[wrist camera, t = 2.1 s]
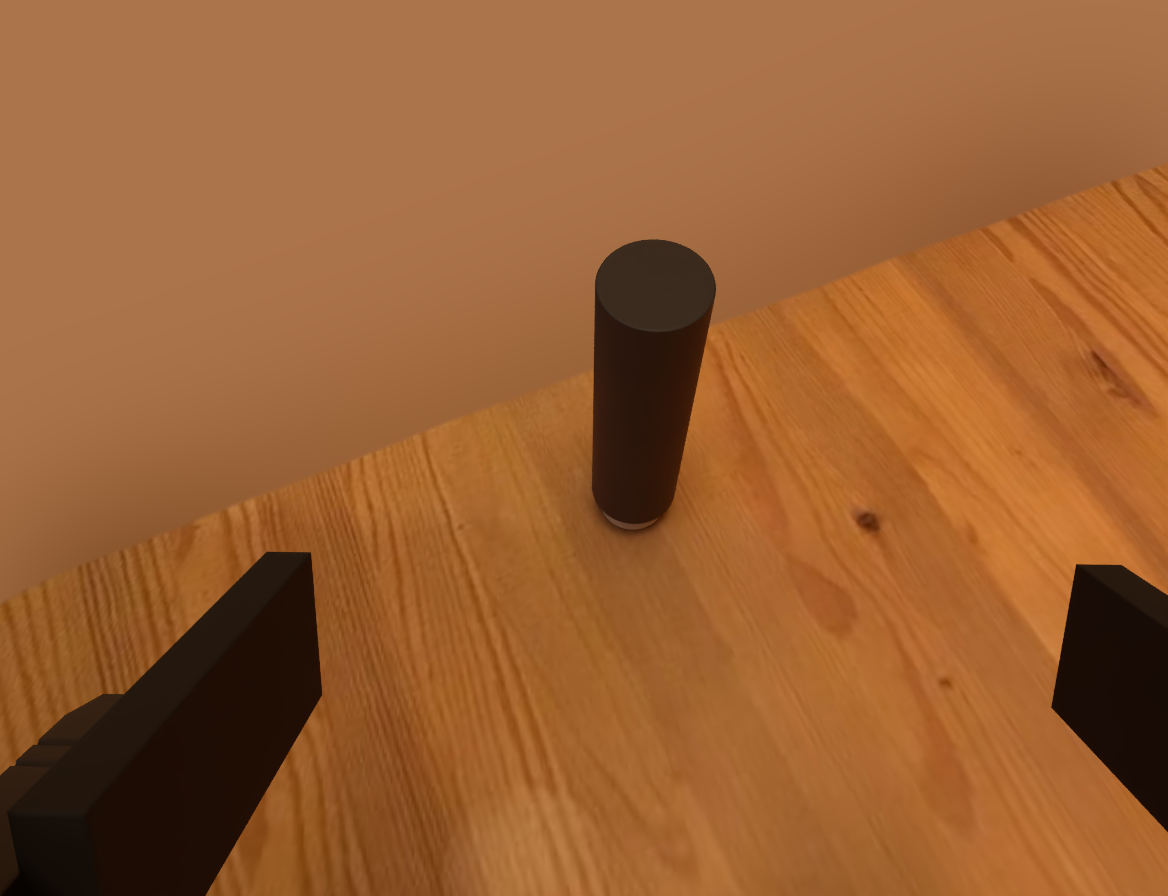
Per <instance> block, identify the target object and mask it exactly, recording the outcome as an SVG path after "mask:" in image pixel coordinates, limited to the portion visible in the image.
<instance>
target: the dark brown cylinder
mask: <svg viewBox="0 0 1168 896" xmlns="http://www.w3.org/2000/svg"><path fill="white" fill-rule="evenodd" d="M715 292H716V284H715V279H714V276H713V273H712V271H711V269H710V267H709V266H708V264H707V263H706V262H705V261H704V259H702V258H701V257H700V256H699V255H698V254H697V253H695V252H694V251H693V250H691V249H689V248H687V247H685V246H683V245H680V244H678V243H674V242H670V241H666V240H641V241H636V242H632V243H629V244H627V245H624V246H622V247H620V248H619V249H617V250H615V251H614V252H612V253H611V254H610V255H609V256H608V257H607V258H606V259H605V260H604V262H603V263H602V264H601V266H600V268H599V270H598V273H597V276H596V281H595V335H594V338H595V339H594V398H593V462H592V491H593V495H594V499H595V501H596V503H597V504H598V506H599V507H600V509H601V510H602V512H603V514H604V515H605V517H606V518H607V519H608V520H609V521H610V522H612V523H613V524H615V525H616V526H618V527H621V528H624V529H630V530H635V529H641V528H645V527H647V526H649V525H651V524H653V523H654V522H655V521H656V520H657V519H658V518H659V517H660V516H661V515H662V514H663V513H664V512H666V510H667V509H668V508H669V506H670V505H671V503H672V501H673V498H674V494H675V489H676V485H677V480H678V475H679V470H680V465H681V460H682V455H683V450H684V445H685V441H686V436H687V431H688V426H689V421H690V416H691V411H692V406H693V402H694V397H695V392H696V387H697V382H698V377H699V372H700V367H701V363H702V358H703V353H704V348H705V343H706V338H707V333H708V328H709V323H710V319H711V313H712V309H713V304H714V298H715Z"/></svg>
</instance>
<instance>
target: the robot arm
mask: <svg viewBox="0 0 1168 896" xmlns="http://www.w3.org/2000/svg"><path fill="white" fill-rule="evenodd" d="M321 696H322V686H321V673H320V661H319V648H318V636H317V623H316V610H315V598H314V585H313V572H312V560H311V553H309V552H266V553H265V554H264V555H263V556H262V557H261V558H260V559H259V560H258V561H257V562H256V563H255V564H254V565H253V566H252V567H251V568H250V569H249V570H248V571H247V572H246V573H245V574H244V575H243V576H242V577H241V578H240V579H239V580H238V581H237V582H236V583H235V584H234V585H233V586H232V587H231V588H230V589H229V590H228V591H227V592H226V593H225V594H224V595H223V596H222V597H221V598H220V599H219V600H218V601H217V602H216V603H215V604H214V605H213V606H212V607H211V608H210V609H209V610H208V611H207V612H206V613H205V614H204V615H203V616H202V617H201V618H200V619H199V620H198V621H197V622H196V623H195V624H194V625H193V626H192V627H191V628H190V629H189V630H188V631H187V632H186V633H185V634H184V635H183V636H182V637H181V638H180V639H179V640H178V641H177V642H176V643H175V644H174V645H173V646H172V647H171V648H170V649H169V650H168V651H167V652H166V653H165V654H164V655H163V656H162V657H161V658H160V659H159V660H158V661H157V662H156V663H155V664H154V665H153V666H152V667H151V668H150V669H149V670H148V671H147V672H146V673H145V674H144V675H143V676H142V677H141V678H140V679H139V680H138V681H137V682H136V683H135V684H134V685H133V686H132V687H131V688H130V689H129V690H128V691H127V692H126V693H125V694H102V695H101V696H99V697H97V698H95V699H93V700H92V701H90V702H88V703H86V704H84V705H83V706H81V707H79V708H77V709H75V710H74V711H72V712H70V713H68V714H66V715H65V716H64V717H63V718H62V719H61V720H60V721H58V722H57V723H56V724H55V725H54V726H53V727H52V728H51V729H50V730H49V731H48V732H47V733H46V734H44V735H43V736H42V737H41V738H40V739H39V742H38V745H33V746H32V747H30V748H29V749H28V750H27V751H26V752H25V753H24V754H23V755H22V756H21V757H20V758H19V759H18V760H16V765H15V766H10V767H9V768H8V769H7V770H6V771H5V772H4V773H2V774H1V775H0V896H205V895H206V893H207V892H208V890H209V888H210V887H211V885H212V883H213V881H214V880H215V878H216V876H217V875H218V873H219V871H220V869H221V868H222V866H223V864H224V863H225V861H226V859H227V857H228V856H229V854H230V852H231V850H232V849H233V847H234V845H235V844H236V842H237V840H238V838H239V837H240V835H241V833H242V832H243V830H244V828H245V826H246V825H247V823H248V821H249V820H250V818H251V816H252V814H253V813H254V811H255V809H256V807H257V806H258V804H259V802H260V801H261V799H262V797H263V795H264V794H265V792H266V790H267V789H268V787H269V785H270V783H271V782H272V780H273V778H274V777H275V775H276V773H277V771H278V770H279V768H280V766H281V764H282V763H283V761H284V759H285V758H286V756H287V754H288V752H289V751H290V749H291V747H292V746H293V744H294V742H295V740H296V739H297V737H298V735H299V734H300V732H301V730H302V728H303V727H304V725H305V723H306V722H307V720H308V718H309V716H310V715H311V713H312V711H313V709H314V708H315V706H316V704H317V703H318V701H319V699H320V697H321ZM1051 708H1052V709H1053V710H1054V711H1055V712H1056V713H1057V714H1058V715H1059V716H1060V717H1061V718H1062V719H1063V720H1064V721H1065V723H1066V724H1067V725H1068V726H1069V727H1070V728H1071V729H1072V730H1073V731H1074V732H1075V733H1076V734H1077V735H1078V736H1079V738H1080V739H1081V740H1082V741H1083V742H1084V743H1085V744H1086V745H1087V746H1088V747H1089V748H1090V749H1091V750H1092V751H1093V753H1094V754H1095V755H1096V756H1097V757H1098V758H1099V759H1100V760H1101V761H1102V762H1103V763H1104V764H1105V765H1106V766H1107V768H1108V769H1109V770H1110V771H1111V772H1112V773H1113V774H1114V775H1115V776H1116V777H1117V778H1118V779H1119V780H1120V781H1121V783H1122V784H1123V785H1124V786H1125V787H1126V788H1127V789H1128V790H1129V791H1130V792H1131V793H1132V794H1133V795H1134V796H1135V798H1136V799H1137V800H1138V801H1139V802H1140V803H1141V804H1142V805H1143V806H1144V807H1145V808H1146V809H1147V810H1148V811H1149V813H1150V814H1151V815H1152V816H1153V817H1154V818H1155V819H1156V820H1157V821H1158V822H1159V823H1160V824H1161V825H1162V826H1163V827H1164V829H1165V830H1166V831H1167V832H1168V595H1166V594H1165V593H1163V592H1162V591H1160V590H1159V589H1157V588H1156V587H1154V586H1153V585H1151V584H1149V583H1148V582H1146V581H1145V580H1143V579H1142V578H1140V577H1139V576H1137V575H1136V574H1134V573H1133V572H1131V571H1130V570H1128V569H1127V568H1125V567H1124V566H1122V565H1082V564H1076V569H1075V575H1074V580H1073V586H1072V592H1071V598H1070V603H1069V609H1068V615H1067V620H1066V626H1065V632H1064V638H1063V643H1062V649H1061V655H1060V661H1059V666H1058V672H1057V678H1056V684H1055V689H1054V695H1053V701H1052V707H1051Z"/></svg>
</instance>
